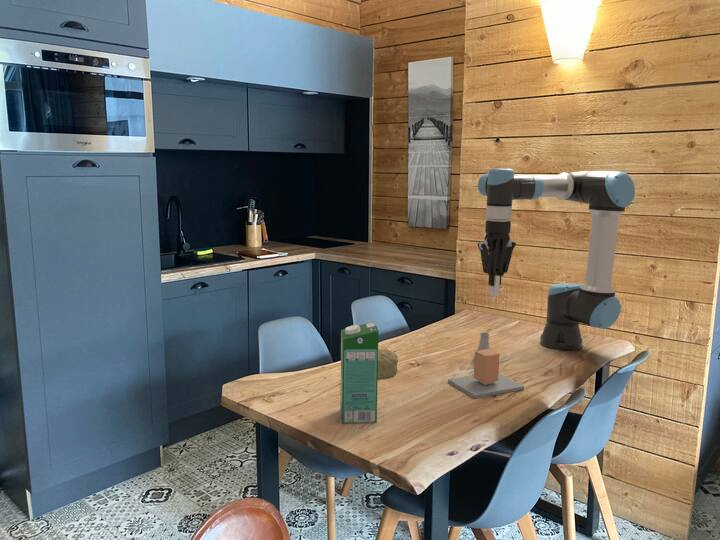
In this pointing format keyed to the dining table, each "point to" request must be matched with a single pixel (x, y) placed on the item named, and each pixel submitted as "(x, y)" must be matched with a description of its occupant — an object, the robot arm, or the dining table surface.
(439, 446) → the dining table surface
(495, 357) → the peach square-faced block
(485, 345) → the flask
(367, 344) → the milk carton
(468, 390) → the grey flat base
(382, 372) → the decorative object
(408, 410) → the dining table surface
